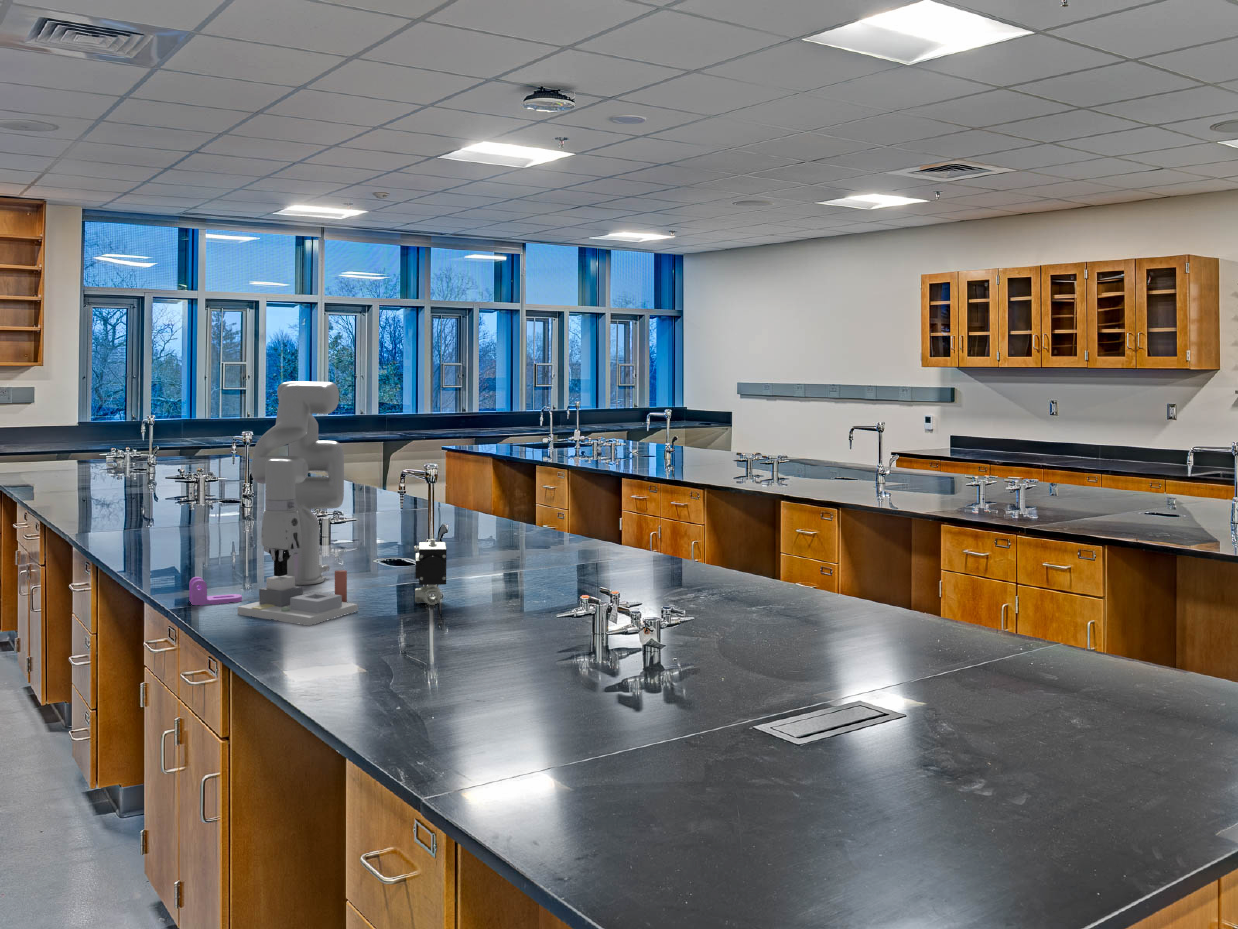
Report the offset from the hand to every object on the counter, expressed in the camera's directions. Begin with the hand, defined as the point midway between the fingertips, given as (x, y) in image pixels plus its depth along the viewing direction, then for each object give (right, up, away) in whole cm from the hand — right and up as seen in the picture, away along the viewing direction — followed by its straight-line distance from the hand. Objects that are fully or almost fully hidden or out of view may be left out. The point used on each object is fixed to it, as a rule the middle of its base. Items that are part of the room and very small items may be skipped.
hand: (280, 575), depth 266 cm
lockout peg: (+13, -9, +10) cm, 19 cm away
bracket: (-21, -9, +9) cm, 24 cm away
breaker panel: (+5, -10, -2) cm, 11 cm away
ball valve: (+37, -9, +13) cm, 40 cm away
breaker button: (0, -5, +1) cm, 5 cm away
